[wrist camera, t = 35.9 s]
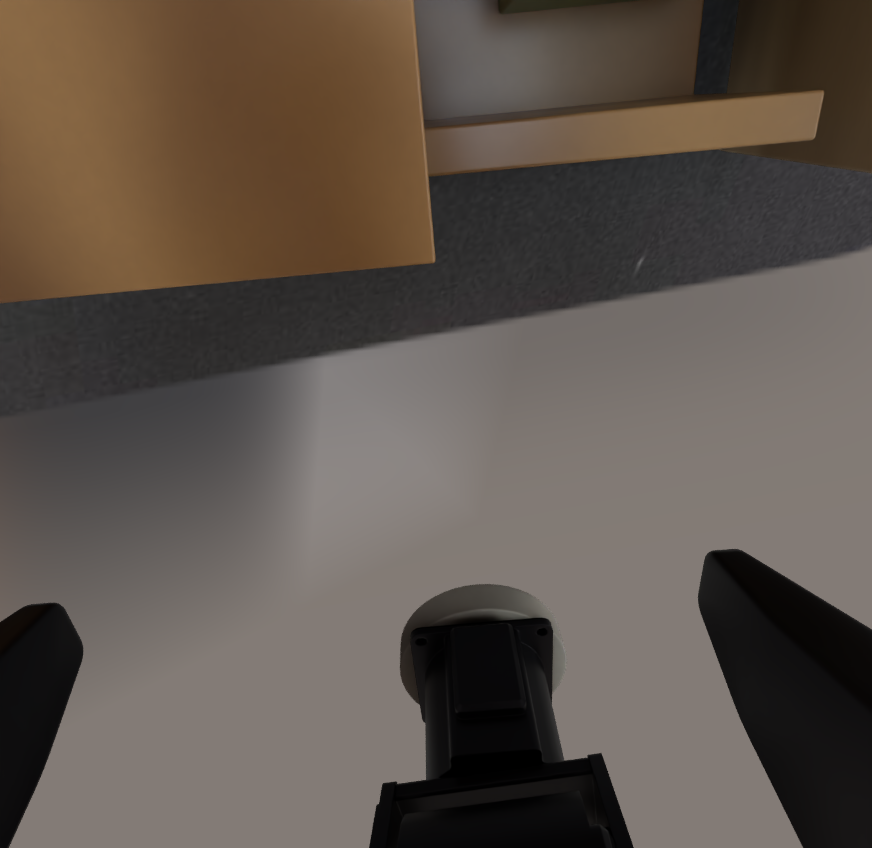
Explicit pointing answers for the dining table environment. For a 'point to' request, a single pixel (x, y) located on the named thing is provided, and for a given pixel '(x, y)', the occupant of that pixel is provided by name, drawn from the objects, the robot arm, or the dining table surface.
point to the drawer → (641, 83)
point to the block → (547, 4)
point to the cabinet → (207, 143)
